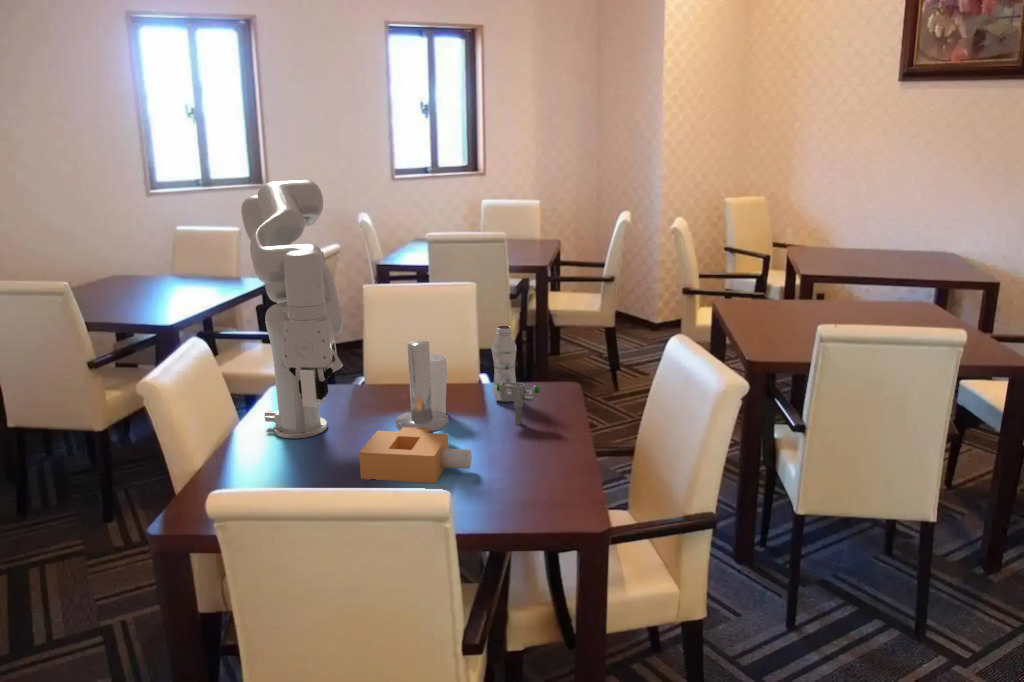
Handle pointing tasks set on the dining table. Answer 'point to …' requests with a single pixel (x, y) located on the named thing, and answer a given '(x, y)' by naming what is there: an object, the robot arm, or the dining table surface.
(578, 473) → the dining table surface
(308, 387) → the white block
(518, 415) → the mechanical component
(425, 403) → the post
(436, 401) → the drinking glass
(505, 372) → the plastic bottle
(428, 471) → the bracket head
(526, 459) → the dining table surface
